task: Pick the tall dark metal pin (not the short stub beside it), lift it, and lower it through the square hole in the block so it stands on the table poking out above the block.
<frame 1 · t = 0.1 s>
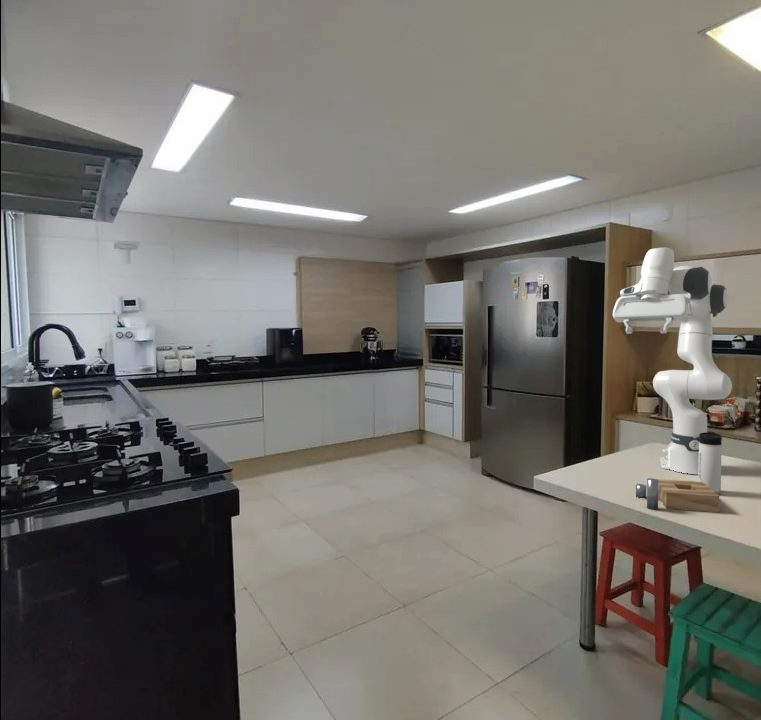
hand: (645, 332, 142), 54 cm above the table, tool tilted 30°, fingers open, 8 cm apart
tall pin: (652, 508, 145), on the table
short pin: (641, 497, 155), on the table
hole block: (684, 502, 150), on the table
travel mug: (709, 492, 159), on the table
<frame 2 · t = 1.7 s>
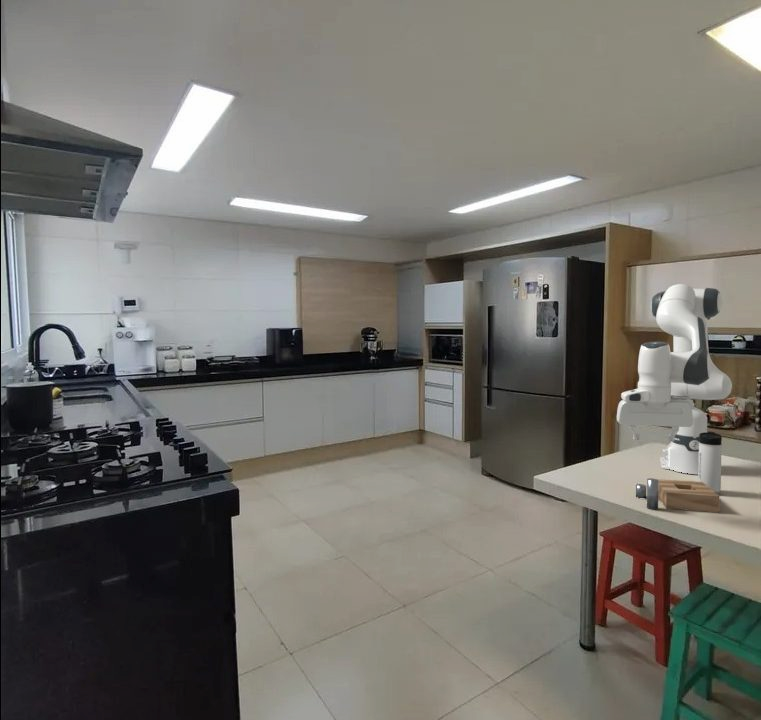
hand: (653, 440, 144), 21 cm above the table, tool pointing down, fingers open, 8 cm apart
nothing on the table moved.
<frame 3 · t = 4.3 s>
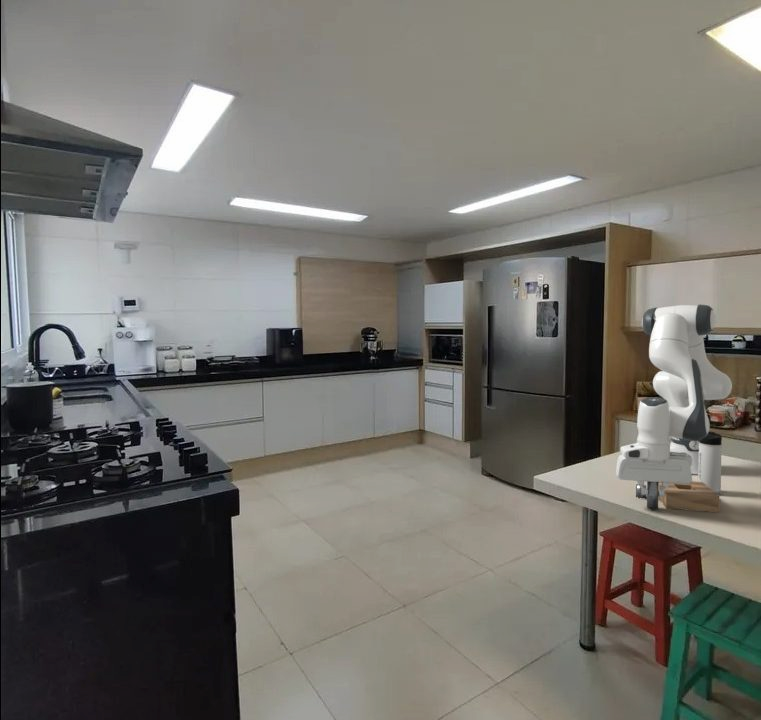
hand: (652, 495, 145), 4 cm above the table, tool pointing down, fingers closed on tall pin, 3 cm apart
tall pin: (652, 508, 145), on the table, touching gripper
everything else where it was.
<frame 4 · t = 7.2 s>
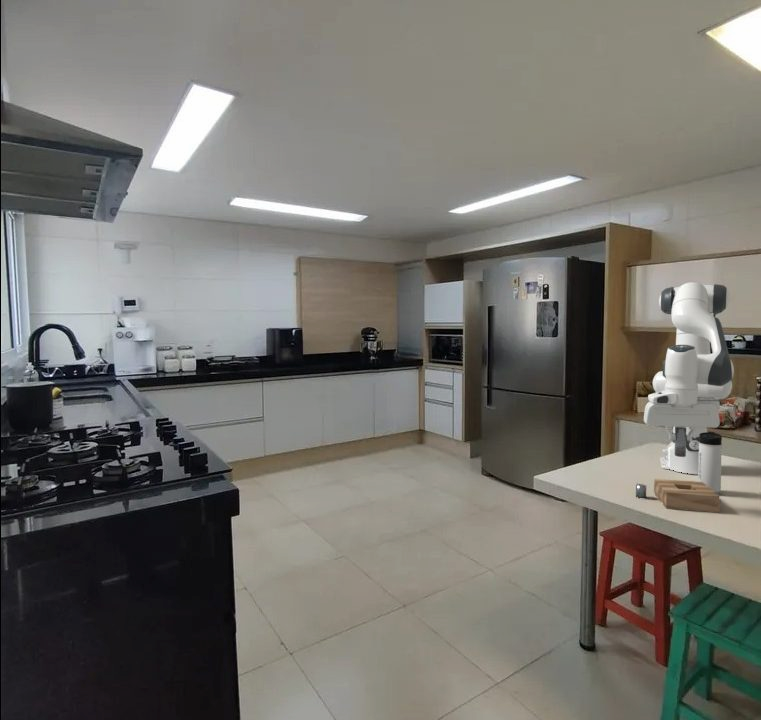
hand: (680, 440, 148), 20 cm above the table, tool pointing down, fingers closed on tall pin, 3 cm apart
tall pin: (680, 455, 149), point 15 cm above the table, touching gripper
everything else where it was.
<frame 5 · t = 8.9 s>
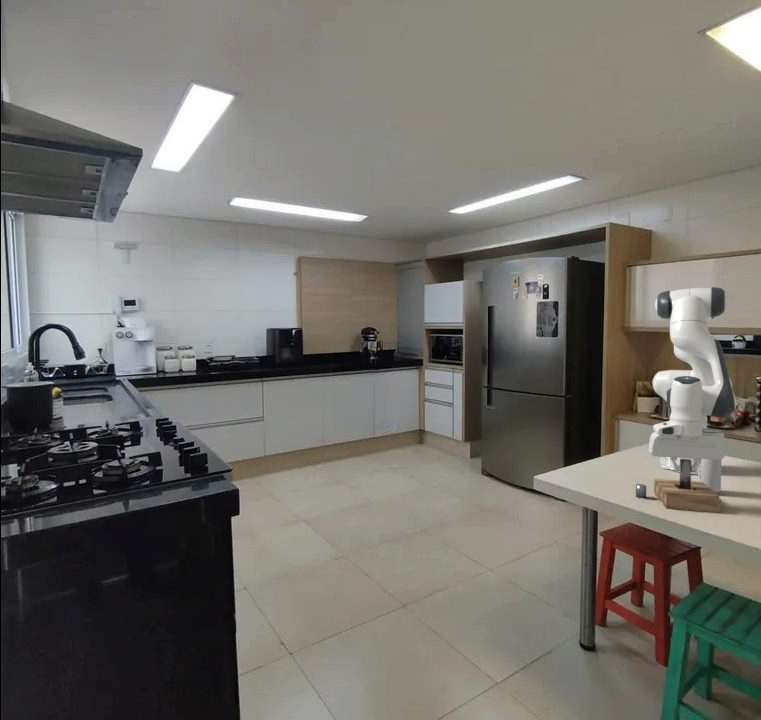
hand: (685, 471, 149), 10 cm above the table, tool pointing down, fingers closed on tall pin, 3 cm apart
tall pin: (685, 487, 149), point 5 cm above the table, touching gripper
everything else where it was.
when the fingers open (7 cm above the table, at t = 10.2 s): tall pin drops 1 cm, resting in hole block.
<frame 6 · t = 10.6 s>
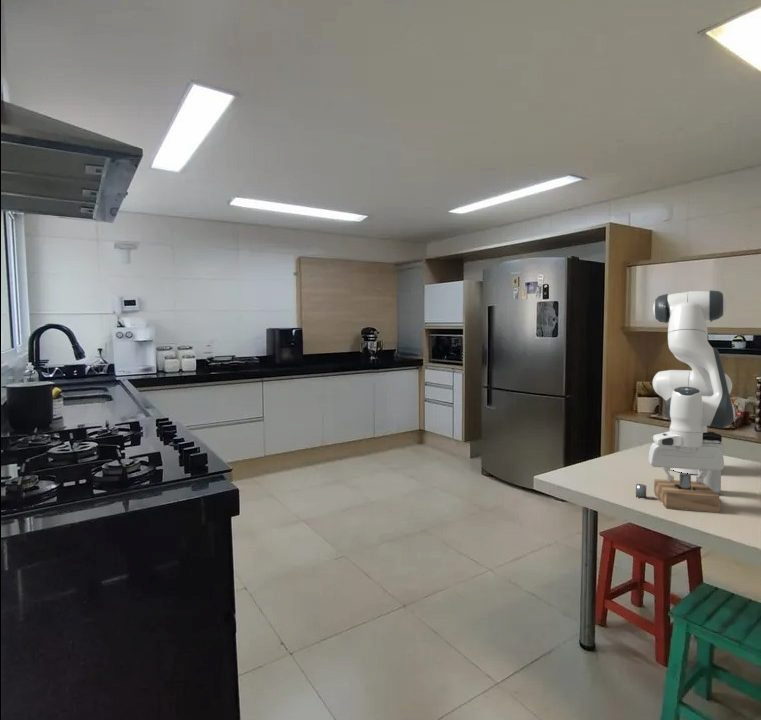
hand: (685, 482, 149), 7 cm above the table, tool pointing down, fingers open, 7 cm apart
tall pin: (684, 502, 150), resting in hole block
everything else where it was.
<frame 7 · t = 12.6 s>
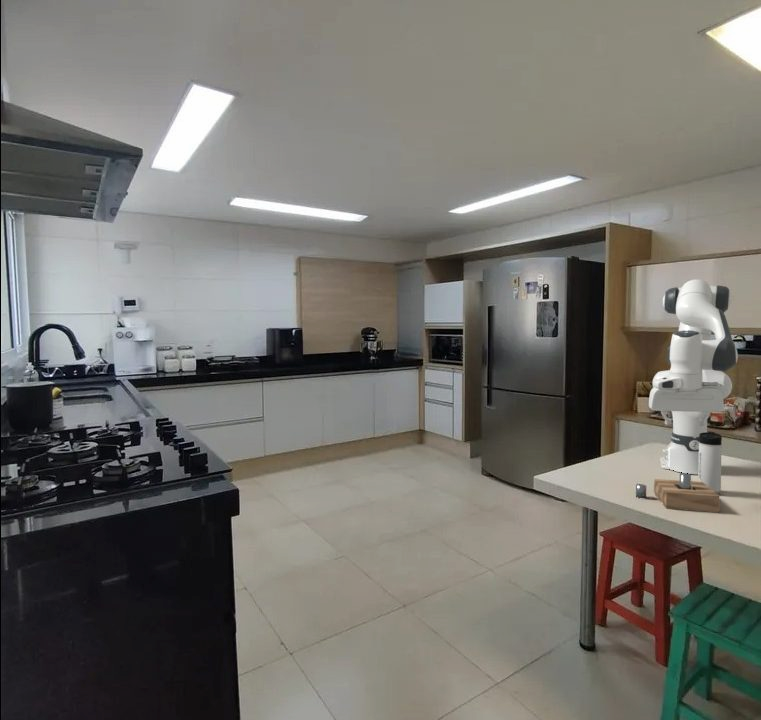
hand: (684, 425, 150), 24 cm above the table, tool pointing down, fingers open, 8 cm apart
nothing on the table moved.
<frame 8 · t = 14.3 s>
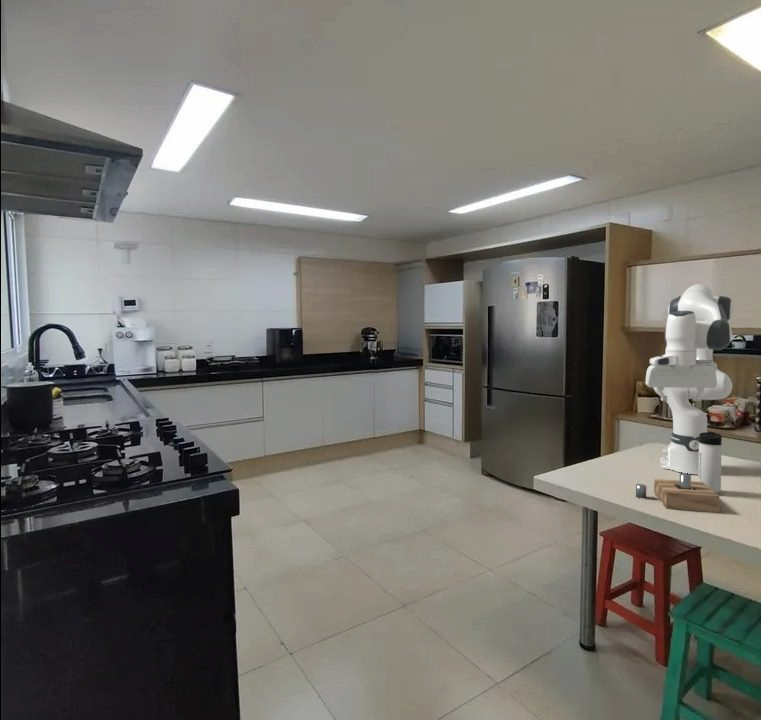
hand: (680, 401, 157), 31 cm above the table, tool pointing down, fingers open, 8 cm apart
nothing on the table moved.
at the end: tall pin 0.0 cm off-centre on the hole block, point 0.0 cm above the hole block's base; tall pin tilted 0°; short pin moved 0.0 cm from its start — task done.
